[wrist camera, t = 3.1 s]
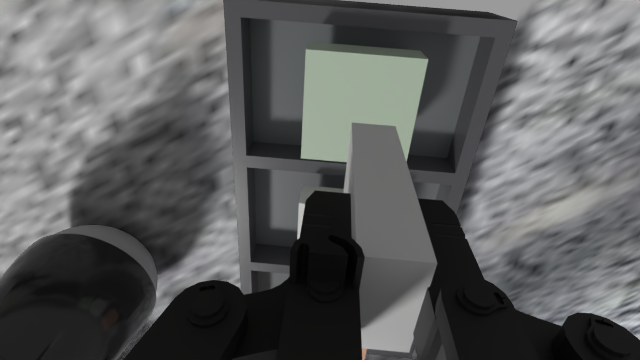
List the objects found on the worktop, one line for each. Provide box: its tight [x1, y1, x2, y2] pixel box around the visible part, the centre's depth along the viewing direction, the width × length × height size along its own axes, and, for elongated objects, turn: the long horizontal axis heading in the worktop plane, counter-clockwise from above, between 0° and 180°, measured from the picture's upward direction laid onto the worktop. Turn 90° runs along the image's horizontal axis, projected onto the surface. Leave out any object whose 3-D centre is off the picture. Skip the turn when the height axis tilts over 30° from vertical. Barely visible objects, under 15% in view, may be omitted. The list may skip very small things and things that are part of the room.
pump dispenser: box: [0, 225, 157, 360], centre depth 25 cm, size 10×10×15 cm
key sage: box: [301, 42, 428, 162], centre depth 19 cm, size 6×6×2 cm
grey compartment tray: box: [223, 0, 517, 358], centre depth 26 cm, size 26×14×4 cm, turn 176°
